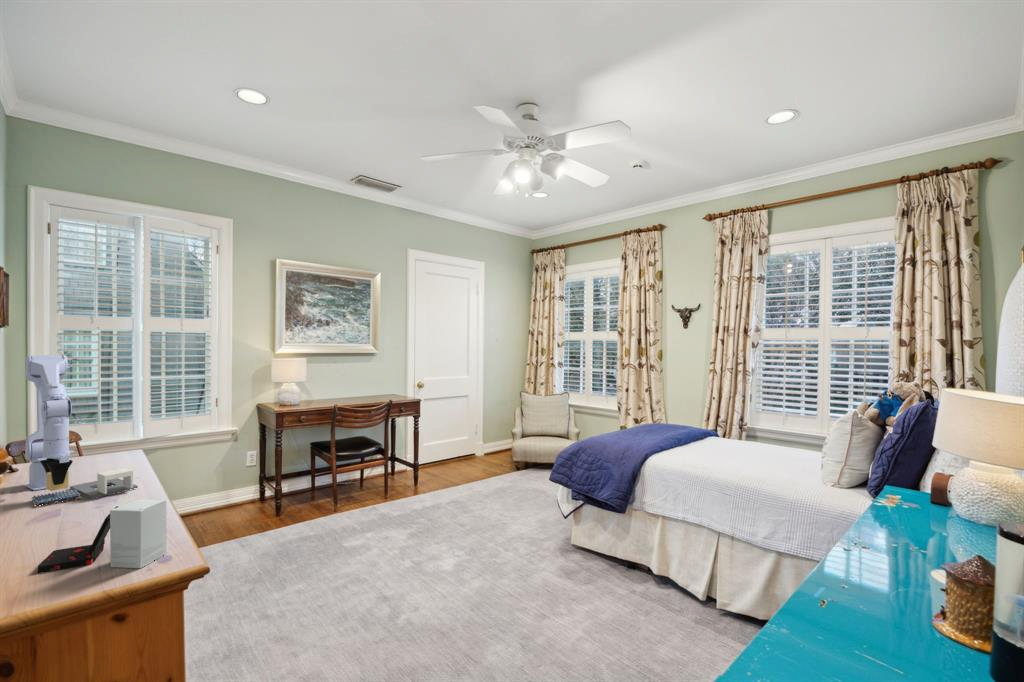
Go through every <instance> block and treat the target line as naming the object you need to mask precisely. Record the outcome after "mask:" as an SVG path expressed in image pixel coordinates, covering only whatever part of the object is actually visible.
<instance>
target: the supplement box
mask: <svg viewBox="0 0 1024 682" xmlns="http://www.w3.org/2000/svg"><path fill="white" fill-rule="evenodd" d="M114 508H115V507H114ZM114 508H113V509H110V510H109V514H110V529H109V533H110V534H109V537H110V539H109V540H110V543H109V545H110V546H109V547H110V553H109V554H110V557H109V559H110V568H123V569H126V568H127V569H128V568H129V569H142V568H143V567H146V566H147V565H149V564H151V563H153V562H155V561H157V560H158V558H159V559H160V558H162V557H164V556H166V555H167V550H168V549H167V548H168V547H167V539H168V537H167V500H166V499H135V500H133V501H130V502H128V503H125V504H122V505H120V506H118V507H117V508H115V509H114ZM165 554H166V555H165ZM163 555H164V556H163ZM161 556H162V557H161ZM156 559H157V560H156ZM154 560H155V561H154Z"/></svg>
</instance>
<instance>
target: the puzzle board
mask: <svg viewBox="0 0 1024 682" xmlns="http://www.w3.org/2000/svg"><path fill="white" fill-rule="evenodd" d="M107 485H109V486H107V494H104V493H101V492H99V491H97V480H95V481H90V482H84V483H79V484H75V485H70V486H69V489H71V490H73V489H74V490H77V491H78V493H79V494H80V495H81V494H82V495H81V496H84V497H86V498H88V499H91V500H93V498H94V499H97V498H96V497H98V498H101V496H103V497H106V496H105V495H107V496H110V495H109V494H112V495H114V494H113V493H116V494H118V493H117V492H121V493H123V492H122V491H125V490H130V489H134V488H138V485H136V484H134V483H133V488H129V487H126V486H124V485H123V479H122V478H117V479H112V480H107ZM111 485H113V486H111ZM134 490H135V489H134ZM130 491H131V490H130ZM125 492H126V491H125Z"/></svg>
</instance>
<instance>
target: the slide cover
mask: <svg viewBox="0 0 1024 682" xmlns="http://www.w3.org/2000/svg"><path fill="white" fill-rule="evenodd" d="M96 476H97V478H96V481H97V488H96V489H97V491H99V492H101V493H104V494H107V487H108V486H107V480H112V479H117V478H118V479H122V480H123V485H124V486H126V487H129V488H133V484H134V482H133V481H134V471H133V469H129V468H126V467H123V468H117V469H112V470H105V471H101V472H97V474H96Z"/></svg>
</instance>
